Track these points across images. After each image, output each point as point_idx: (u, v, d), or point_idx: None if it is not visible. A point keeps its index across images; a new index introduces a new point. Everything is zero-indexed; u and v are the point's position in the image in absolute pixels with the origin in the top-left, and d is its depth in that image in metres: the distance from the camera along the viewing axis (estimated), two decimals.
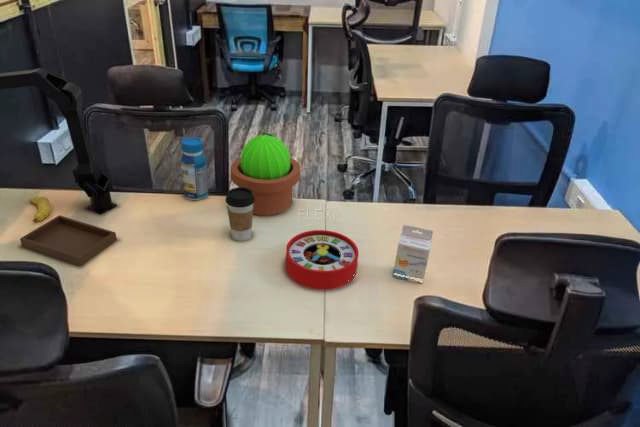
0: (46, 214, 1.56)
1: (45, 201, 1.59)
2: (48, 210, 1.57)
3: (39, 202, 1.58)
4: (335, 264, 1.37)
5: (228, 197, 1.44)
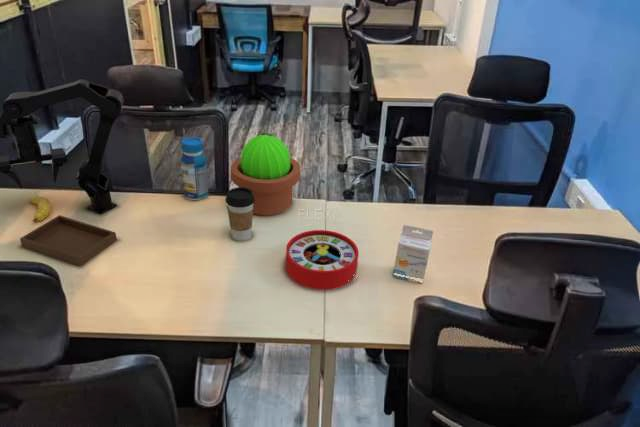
0: (46, 214, 1.56)
1: (45, 201, 1.59)
2: (48, 210, 1.57)
3: (39, 202, 1.58)
4: (335, 264, 1.37)
5: (228, 197, 1.44)
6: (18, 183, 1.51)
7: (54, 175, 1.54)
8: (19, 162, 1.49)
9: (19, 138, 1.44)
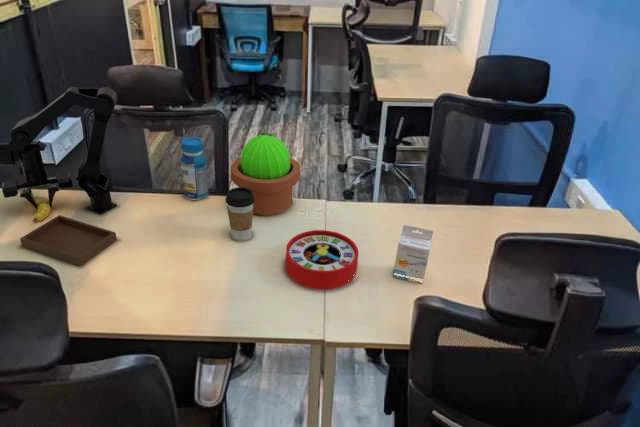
0: (46, 214, 1.56)
1: (45, 201, 1.59)
2: (48, 210, 1.57)
3: (39, 202, 1.58)
4: (335, 264, 1.37)
5: (228, 197, 1.44)
6: (35, 205, 1.56)
7: (50, 200, 1.58)
8: (26, 187, 1.53)
9: (26, 164, 1.49)
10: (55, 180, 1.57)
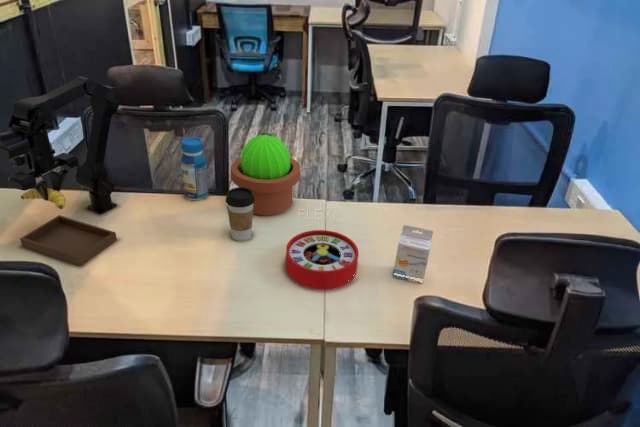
0: (65, 199, 1.43)
1: (51, 189, 1.45)
2: (63, 195, 1.44)
3: None
4: (335, 264, 1.37)
5: (228, 197, 1.44)
6: (46, 194, 1.42)
7: (59, 186, 1.45)
8: (38, 175, 1.38)
9: (42, 147, 1.35)
10: (60, 162, 1.44)
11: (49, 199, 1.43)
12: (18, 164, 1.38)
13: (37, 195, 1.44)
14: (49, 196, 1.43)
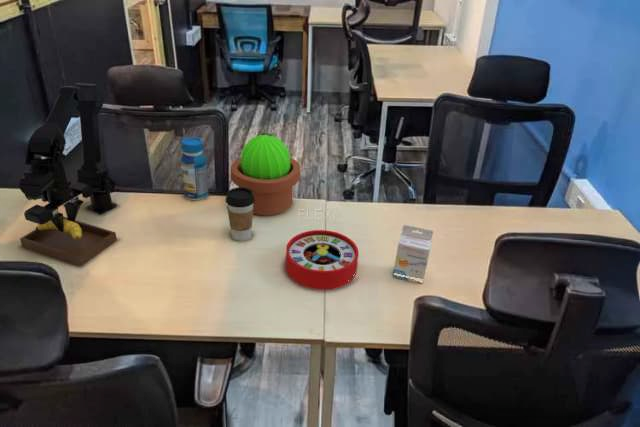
0: (81, 230, 1.42)
1: (66, 220, 1.43)
2: (79, 226, 1.43)
3: None
4: (335, 264, 1.37)
5: (228, 197, 1.44)
6: (62, 226, 1.40)
7: (75, 216, 1.43)
8: (54, 207, 1.36)
9: (62, 178, 1.34)
10: (75, 192, 1.43)
11: (65, 230, 1.42)
12: None
13: (52, 226, 1.43)
14: (65, 227, 1.41)
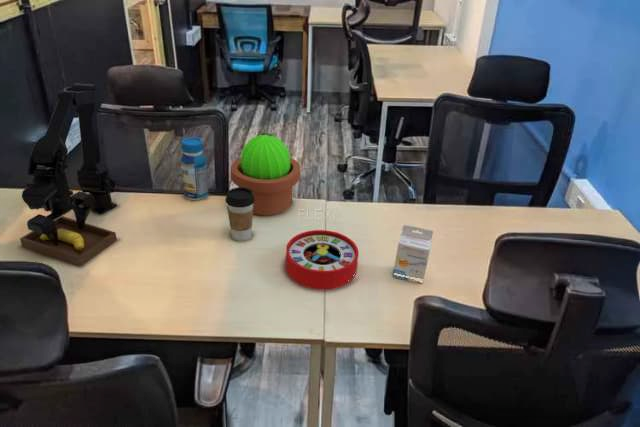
0: (83, 241, 1.44)
1: None
2: (81, 237, 1.45)
3: (64, 233, 1.44)
4: (335, 264, 1.37)
5: (228, 197, 1.44)
6: (57, 240, 1.39)
7: (84, 220, 1.47)
8: (56, 217, 1.38)
9: (64, 188, 1.36)
10: (76, 202, 1.44)
11: (67, 241, 1.43)
12: None
13: None
14: (67, 238, 1.43)
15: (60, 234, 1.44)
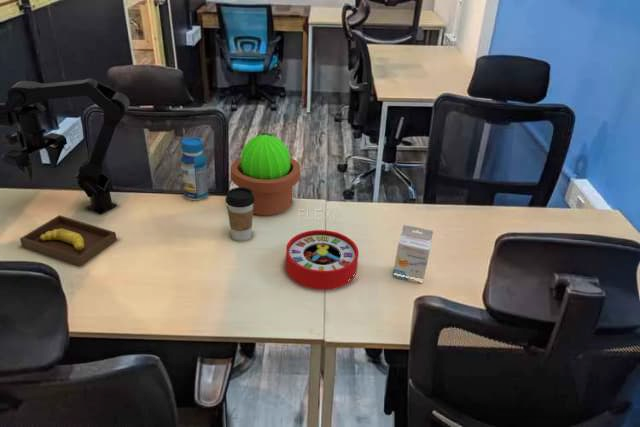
0: (83, 241, 1.44)
1: None
2: (81, 237, 1.45)
3: (64, 233, 1.44)
4: (335, 264, 1.37)
5: (228, 197, 1.44)
6: (31, 175, 1.50)
7: (56, 160, 1.57)
8: (30, 152, 1.48)
9: (23, 126, 1.44)
10: (49, 141, 1.54)
11: (67, 241, 1.43)
12: (11, 143, 1.48)
13: (55, 237, 1.44)
14: (67, 238, 1.43)
15: (60, 234, 1.44)
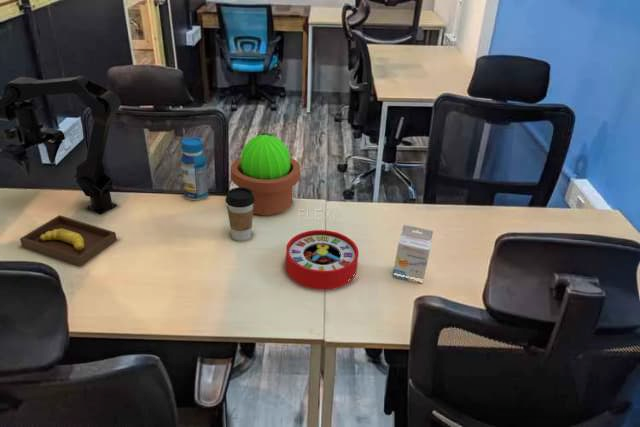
0: (83, 241, 1.44)
1: None
2: (81, 237, 1.45)
3: (64, 233, 1.44)
4: (335, 264, 1.37)
5: (228, 197, 1.44)
6: (28, 169, 1.53)
7: (54, 154, 1.60)
8: (27, 147, 1.51)
9: (19, 121, 1.48)
10: (47, 136, 1.58)
11: (67, 241, 1.43)
12: (9, 137, 1.51)
13: (55, 237, 1.44)
14: (67, 238, 1.43)
15: (60, 234, 1.44)
